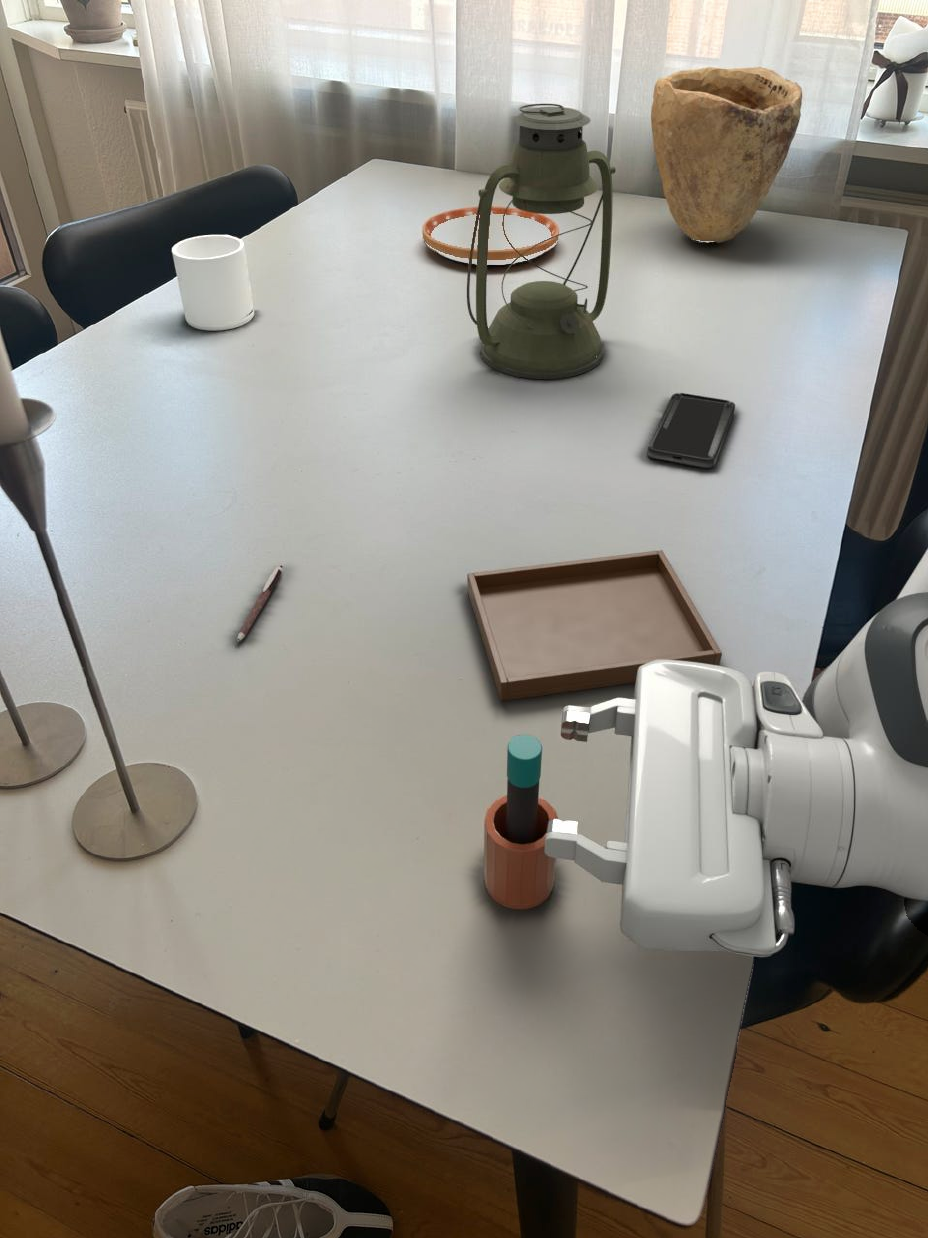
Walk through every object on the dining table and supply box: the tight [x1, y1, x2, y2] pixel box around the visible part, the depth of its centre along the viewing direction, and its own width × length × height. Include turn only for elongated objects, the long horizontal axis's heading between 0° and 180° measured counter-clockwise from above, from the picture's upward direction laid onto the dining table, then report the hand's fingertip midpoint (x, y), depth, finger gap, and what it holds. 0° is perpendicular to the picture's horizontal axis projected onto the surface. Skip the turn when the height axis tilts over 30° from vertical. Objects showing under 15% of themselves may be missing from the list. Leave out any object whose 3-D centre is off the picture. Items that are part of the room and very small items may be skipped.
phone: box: [646, 392, 736, 469], centre depth 114 cm, size 8×1×15 cm
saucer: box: [421, 205, 560, 260], centre depth 163 cm, size 23×23×4 cm
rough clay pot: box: [650, 66, 803, 244], centre depth 157 cm, size 22×22×25 cm
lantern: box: [466, 103, 616, 380], centre depth 123 cm, size 21×18×30 cm
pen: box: [236, 564, 284, 642], centre depth 90 cm, size 11×1×1 cm, turn 168°
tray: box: [466, 549, 723, 702], centre depth 87 cm, size 19×15×2 cm
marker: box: [506, 734, 543, 844], centre depth 63 cm, size 2×2×13 cm
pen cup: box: [483, 794, 559, 910], centre depth 65 cm, size 5×5×6 cm
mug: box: [171, 234, 255, 332], centre depth 140 cm, size 13×10×10 cm
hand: (554, 776), depth 60 cm, fingers open, 8 cm apart
